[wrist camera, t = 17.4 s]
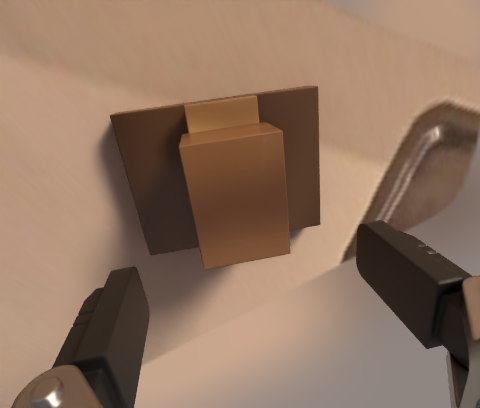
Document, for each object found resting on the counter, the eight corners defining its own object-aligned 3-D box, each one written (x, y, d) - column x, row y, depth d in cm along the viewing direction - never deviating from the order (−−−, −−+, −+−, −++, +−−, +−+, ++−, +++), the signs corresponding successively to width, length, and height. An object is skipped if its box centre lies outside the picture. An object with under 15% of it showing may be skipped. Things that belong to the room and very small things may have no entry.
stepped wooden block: (177, 105, 18) (171, 113, 13) (258, 93, 18) (280, 97, 13) (205, 245, 22) (208, 291, 17) (271, 233, 22) (292, 275, 17)
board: (152, 245, 23) (150, 256, 21) (115, 112, 19) (109, 115, 17) (313, 217, 24) (320, 225, 22) (310, 85, 20) (318, 85, 18)
